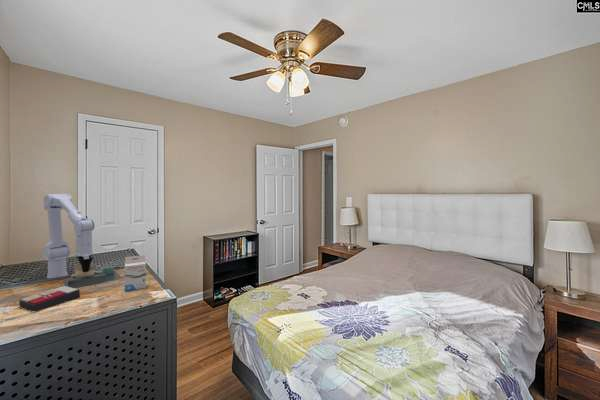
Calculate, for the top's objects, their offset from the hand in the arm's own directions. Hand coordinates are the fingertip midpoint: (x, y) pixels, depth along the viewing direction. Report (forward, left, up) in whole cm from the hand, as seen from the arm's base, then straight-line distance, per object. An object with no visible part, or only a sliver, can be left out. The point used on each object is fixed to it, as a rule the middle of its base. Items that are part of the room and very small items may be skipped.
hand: (85, 270), depth 132 cm
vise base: (0, +3, -5) cm, 6 cm away
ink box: (+28, +16, -6) cm, 33 cm away
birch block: (0, 0, -2) cm, 2 cm away
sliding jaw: (-6, +4, -5) cm, 8 cm away
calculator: (+22, -13, -6) cm, 26 cm away
